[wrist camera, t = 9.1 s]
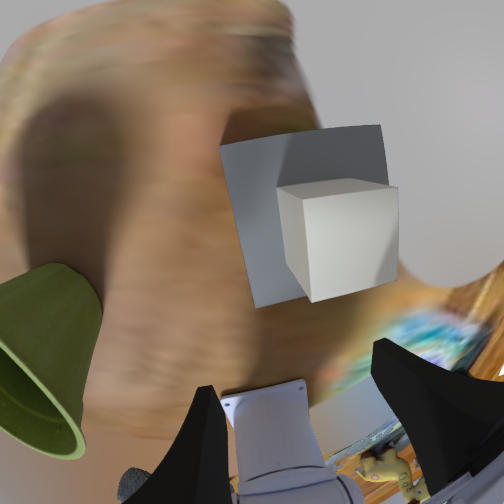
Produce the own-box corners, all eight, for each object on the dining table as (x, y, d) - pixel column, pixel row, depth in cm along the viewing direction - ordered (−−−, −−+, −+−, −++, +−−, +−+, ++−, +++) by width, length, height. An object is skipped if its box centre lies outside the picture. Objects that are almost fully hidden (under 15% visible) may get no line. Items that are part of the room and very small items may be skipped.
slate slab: (372, 256, 20) (392, 270, 18) (250, 287, 20) (255, 308, 17) (358, 128, 17) (380, 124, 14) (219, 149, 17) (218, 146, 14)
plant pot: (1, 286, 17) (-69, 351, 6) (59, 201, 16) (-57, 250, 5) (82, 376, 21) (44, 466, 10) (160, 321, 19) (128, 447, 9)
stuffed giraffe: (423, 431, 34) (457, 490, 19) (342, 478, 36) (361, 539, 21) (408, 402, 29) (456, 482, 14) (303, 461, 32) (323, 545, 17)
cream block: (353, 248, 17) (396, 280, 12) (285, 262, 16) (311, 302, 12) (348, 177, 15) (397, 187, 10) (275, 187, 15) (302, 199, 10)
